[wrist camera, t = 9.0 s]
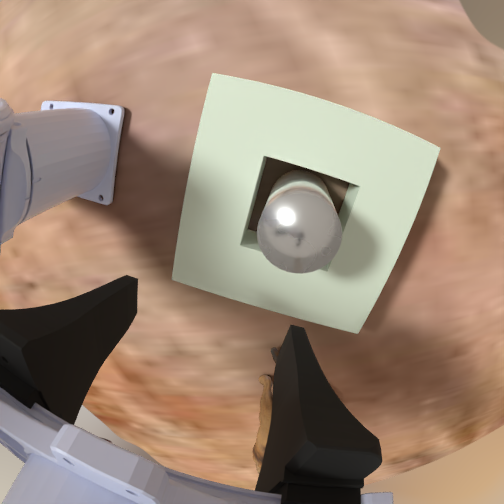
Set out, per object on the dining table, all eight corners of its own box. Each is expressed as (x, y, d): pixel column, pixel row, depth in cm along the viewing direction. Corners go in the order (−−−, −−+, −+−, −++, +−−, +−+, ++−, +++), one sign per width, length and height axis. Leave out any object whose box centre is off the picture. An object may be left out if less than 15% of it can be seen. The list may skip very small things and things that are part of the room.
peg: (266, 220, 21) (251, 265, 15) (275, 164, 19) (263, 186, 13) (322, 231, 21) (330, 280, 15) (334, 176, 19) (351, 203, 13)
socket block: (185, 261, 24) (171, 279, 21) (224, 79, 17) (212, 73, 15) (352, 310, 23) (357, 333, 20) (422, 143, 17) (440, 147, 14)
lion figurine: (308, 429, 31) (304, 493, 23) (264, 429, 32) (253, 492, 24) (302, 341, 25) (297, 427, 17) (242, 344, 26) (220, 424, 18)
